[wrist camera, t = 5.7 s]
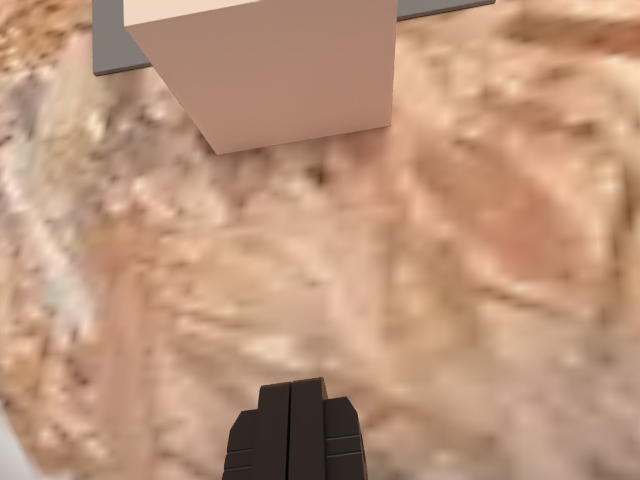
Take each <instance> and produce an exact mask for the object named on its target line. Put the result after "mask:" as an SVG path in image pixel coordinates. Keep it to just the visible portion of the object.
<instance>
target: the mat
mask: <svg viewBox="0 0 640 480" xmlns="http://www.w3.org/2000/svg"><path fill="white" fill-rule="evenodd" d="M495 1H496V0H398V3H397V21H398V20H404V19H409V18H415V17H420V16H426V15H431V14H436V13H442V12H447V11H453V10H458V9H464V8H469V7H475V6H480V5H486V4H491V3H495ZM147 66H152V64H151V63H150V62H149V60H148V59H147V57H146V56H145V55H144V53H143V52H142V51H141V49H140V48H139V46H138V45H137V44H136V42H135V41H134V39H133V38H132V37H131V35H130V34H129V33H128V31H127V30H126V28H125V27H124V6H123V0H93V73H94V74H95V76H98V75H103V74H109V73H114V72H120V71H125V70H131V69H136V68H141V67H147Z"/></svg>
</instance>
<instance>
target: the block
mask: <svg viewBox="0 0 640 480" xmlns="http://www.w3.org/2000/svg"><path fill="white" fill-rule="evenodd" d="M397 3H398V0H123V6H124V27H125V28H126V30H127V31H128V33H129V34H130V35H131V37H132V38H133V39H134V41H135V42H136V44H137V45H138V46H139V48H140V49H141V51H142V52H143V53H144V55H145V56H146V57H147V59H148V60H149V62H150V63H151V64H152V66H153V67H154V68H155V70H156V71H157V73H158V74H159V75H160V77H161V78H162V79H163V81H164V82H165V84H166V85H167V86H168V88H169V89H170V91H171V92H172V93H173V95H174V96H175V97H176V99H177V100H178V102H179V103H180V104H181V106H182V107H183V108H184V110H185V111H186V113H187V114H188V115H189V117H190V118H191V120H192V121H193V122H194V124H195V125H196V126H197V128H198V129H199V131H200V132H201V133H202V135H203V136H204V137H205V139H206V140H207V142H208V143H209V144H210V146H211V147H212V148H213V150H214V151H215V153H216V154H217V155H220V154H226V153H232V152H238V151H244V150H250V149H256V148H262V147H268V146H273V145H279V144H285V143H291V142H297V141H303V140H309V139H315V138H321V137H327V136H333V135H339V134H345V133H351V132H357V131H363V130H368V129H374V128H380V127H386V126H391V112H392V94H393V76H394V58H395V40H396V21H397Z"/></svg>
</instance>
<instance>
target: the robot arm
mask: <svg viewBox="0 0 640 480" xmlns="http://www.w3.org/2000/svg"><path fill="white" fill-rule="evenodd" d="M222 480H368V474H367V465H366V457H365V451H364V445H363V440H362V435H361V430H360V425H359V419H358V414H357V412H356V410H355V409H354V407H353V406H352V404H351V403H350V401H349V400H348V398H347V397H341V398H333V399H328V396H327V391H326V387H325V383H324V379H323V377H319V378H312V379H305V380H298V381H293V382H285V383H277V384H270V385H263V386H261V387H260V392H259V401H258V409H255V410H248V411H241V413H240V415H239V416H238V418H237V420H236V421H235V423H234V425H233V426H232V428H231V430H230V434H229V440H228V446H227V455H226V458H225V464H224V473H223V477H222Z"/></svg>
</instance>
